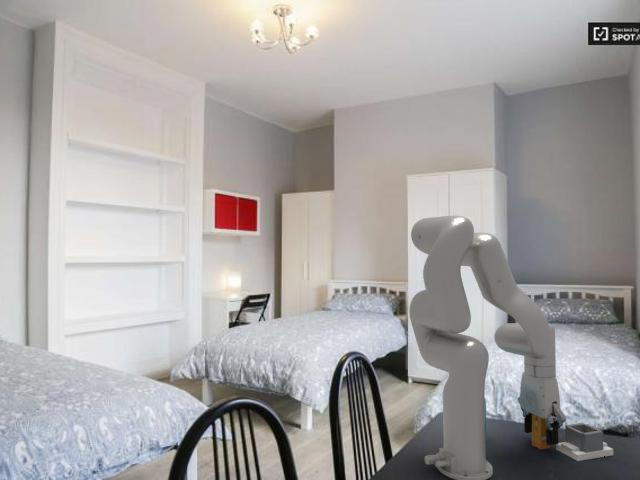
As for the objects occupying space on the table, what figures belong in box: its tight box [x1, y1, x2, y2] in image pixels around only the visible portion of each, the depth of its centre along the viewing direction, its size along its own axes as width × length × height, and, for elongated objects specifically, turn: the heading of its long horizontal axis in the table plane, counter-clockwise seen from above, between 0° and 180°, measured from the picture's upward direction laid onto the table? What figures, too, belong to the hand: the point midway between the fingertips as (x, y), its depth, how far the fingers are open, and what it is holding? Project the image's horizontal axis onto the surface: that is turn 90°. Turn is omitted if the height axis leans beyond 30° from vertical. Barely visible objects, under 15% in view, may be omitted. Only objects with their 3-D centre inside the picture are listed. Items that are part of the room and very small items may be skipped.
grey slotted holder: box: [555, 422, 614, 462], centre depth 122 cm, size 11×7×6 cm, turn 106°
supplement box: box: [531, 414, 550, 450], centre depth 126 cm, size 3×3×10 cm
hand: (540, 437), depth 126 cm, fingers open, 7 cm apart
